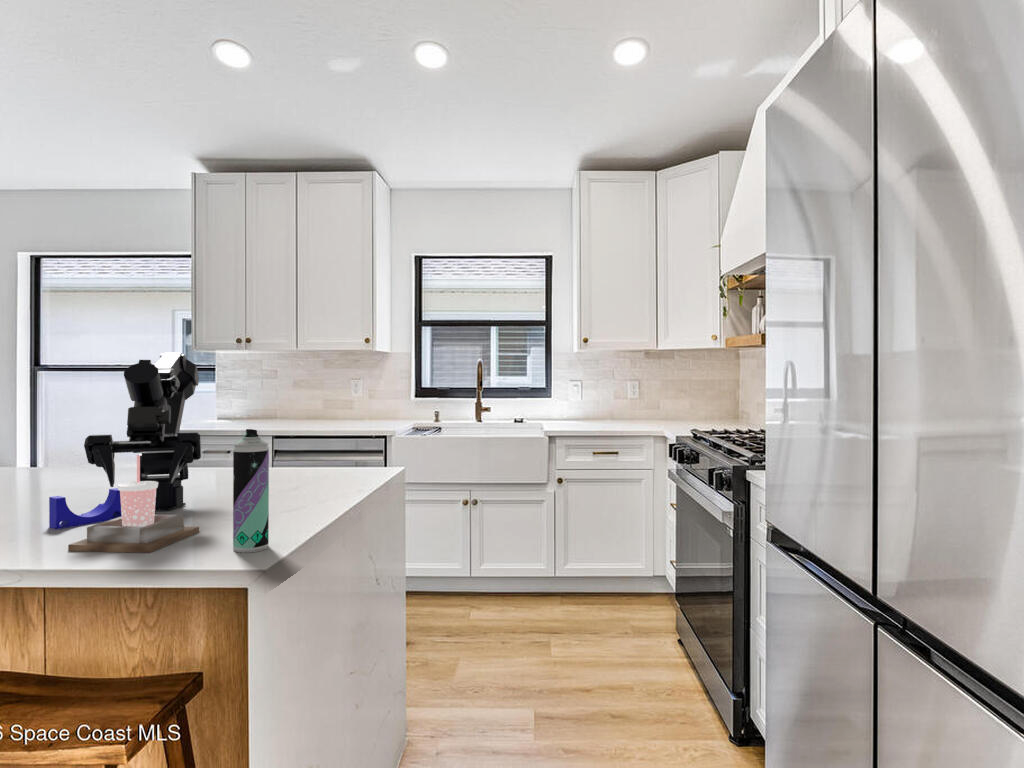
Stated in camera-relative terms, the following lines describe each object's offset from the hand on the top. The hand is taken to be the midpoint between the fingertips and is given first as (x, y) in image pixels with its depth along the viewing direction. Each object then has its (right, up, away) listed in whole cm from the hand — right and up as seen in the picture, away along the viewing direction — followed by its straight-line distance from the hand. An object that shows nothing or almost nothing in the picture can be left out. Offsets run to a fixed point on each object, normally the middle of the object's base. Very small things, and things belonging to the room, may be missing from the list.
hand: (141, 484), depth 112 cm
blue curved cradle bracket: (-17, -10, +10) cm, 22 cm away
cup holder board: (+2, -9, -4) cm, 10 cm away
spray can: (+24, -10, -9) cm, 27 cm away
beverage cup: (+2, -8, -4) cm, 10 cm away
